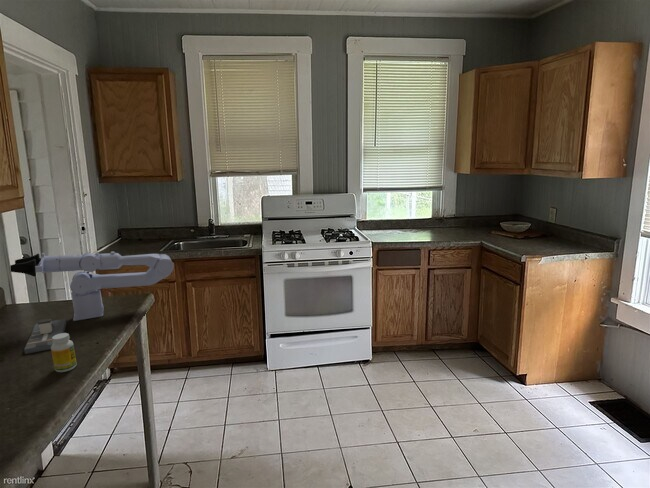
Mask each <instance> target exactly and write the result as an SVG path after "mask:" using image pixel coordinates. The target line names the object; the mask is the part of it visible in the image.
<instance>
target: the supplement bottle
mask: <svg viewBox="0 0 650 488" xmlns="http://www.w3.org/2000/svg"><path fill="white" fill-rule="evenodd" d="M70 339H71V337H70V334H69V332H68V333H67V332H64V333H61V334H57V335H55V336H53V337H52V342H53V344H52V346H51V349H50V352H51V357H52V363H53V368H54V371H55V372H56V373H65V372H70V371H72V370H73V369H75V368H76V366H77V365H78V364H77V358H76V352H75V345H74V342H73V340H70Z"/></svg>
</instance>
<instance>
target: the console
mask: <svg viewBox="0 0 650 488" xmlns="http://www.w3.org/2000/svg"><path fill="white" fill-rule="evenodd" d="M67 323H68V322H67V318H63V319H58V320H57V319H56V320H51V325H52V332H51V333H45V334H40V328H39V325H38V323H36V324H35V325H34V327H33V329H32V330H31V334H30V336H29V338H28V340H27V342H26V345H25V347H24V351H23V352H24V354H25V355H28V354H32V353H38V352H43V351H48V350H51V346H52V344H53V342H52V337H53V336H55V335H57V334H61V333H65V331H66V327H67Z"/></svg>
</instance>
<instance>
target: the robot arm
mask: <svg viewBox="0 0 650 488" xmlns="http://www.w3.org/2000/svg"><path fill="white" fill-rule="evenodd" d="M142 265H143V266H147V267H148V269H147V270H146V271H144V272H141V271H140V272H124V273H108V274H99V273H93V272H95V271H96V270H99V271H100V270H116V269H117V270H118V269H120V268H121V267H122V266H142ZM9 267H10V272H11V273H18V274H24V275H29V276H31V277H36V276H37V273H42V274H46V273H60V272H63V273H65V272H75V271H76V273H75V274H73V276H72V278H71V283H70V285H69V287H70V288H69V289H70V291H71V293H70V294H71V301H72V306H73V312H74V314H73V319H72V321H73V322H76V321H83V320H87V319H93V318H100V317H103V316H104V304H103V299H102V293H101V289H113V288H117V289H118V288H128V287H129V288H130V287H144V286H153V285H155V284H157V283H159V282H160V281H161V280H164V279H165V278H167V277H168V278H169V276H170V275H171V273H173V271H174V268H175V264H174V262H173V261H172V258H171V257H170V256H169V255H168V254H167V253H166V254H165V253H161V254H159V253H148V254H147V253H145V254H135V255H134V254H132V255H123V256H122V255H121V253H118V252H115V251H110V253H109V252H108V253H99V252H95V254H94V253H92V252H89V251H88V252H86V253H84V254H62V255H61V254H60V255H46V253H45V252H42V253H41V257H40V253H36V254H35V255H32V256H31V255H30V256H28V257H23V258H18V259H15V260H14V264H11V265H10V266H9ZM77 271H79V272H77Z"/></svg>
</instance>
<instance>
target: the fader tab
mask: <svg viewBox="0 0 650 488" xmlns="http://www.w3.org/2000/svg"><path fill="white" fill-rule="evenodd" d="M51 321H52V318H50V317H49V318H43V319H42V318H41V319H38V321H37V324H38V325H39V328H40V334H45V333H51V332H52V325H51Z"/></svg>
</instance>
